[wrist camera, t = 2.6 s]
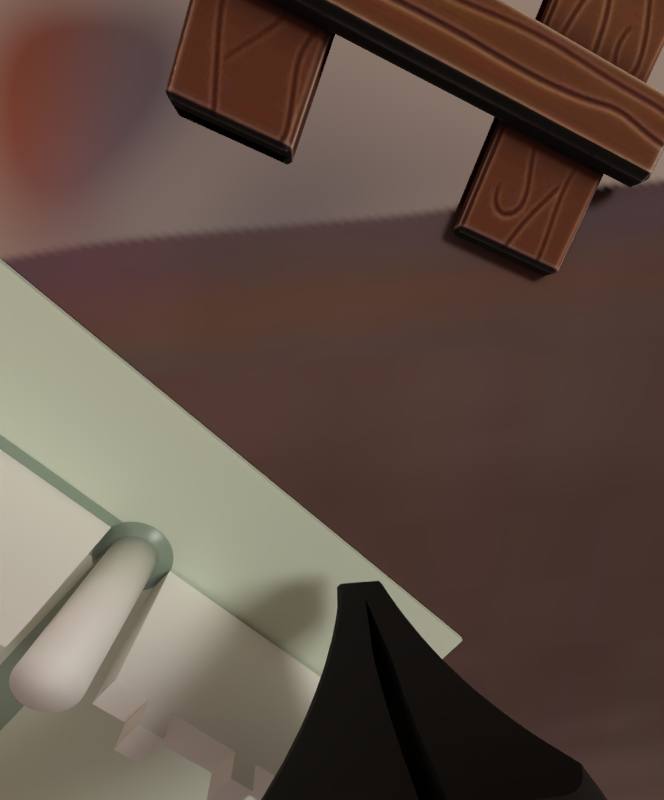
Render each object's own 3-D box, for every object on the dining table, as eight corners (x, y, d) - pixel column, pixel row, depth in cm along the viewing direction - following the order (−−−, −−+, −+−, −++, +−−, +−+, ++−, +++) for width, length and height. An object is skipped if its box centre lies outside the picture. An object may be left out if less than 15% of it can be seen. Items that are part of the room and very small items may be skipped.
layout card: (177, 894, 17) (176, 902, 17) (-422, 602, 12) (-436, 608, 12) (460, 636, 15) (463, 641, 15) (-102, 175, 10) (-111, 171, 10)
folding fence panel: (152, 588, 13) (78, 729, 9) (169, 570, 13) (103, 704, 9) (323, 705, 15) (334, 872, 10) (339, 690, 15) (357, 852, 10)
